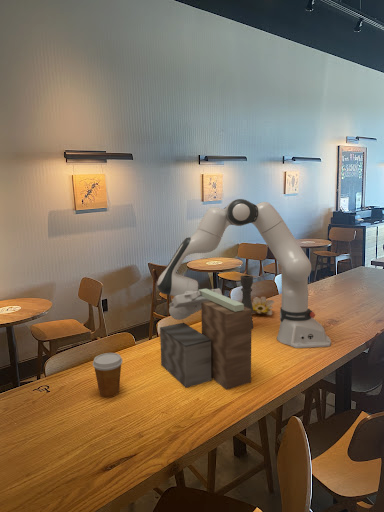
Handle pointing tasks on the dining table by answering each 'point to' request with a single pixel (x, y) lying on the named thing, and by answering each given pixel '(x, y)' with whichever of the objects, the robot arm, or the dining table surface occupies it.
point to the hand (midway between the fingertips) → (206, 292)
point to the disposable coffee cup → (108, 373)
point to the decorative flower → (262, 306)
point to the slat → (222, 300)
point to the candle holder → (247, 291)
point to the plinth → (228, 343)
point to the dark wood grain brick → (186, 354)
